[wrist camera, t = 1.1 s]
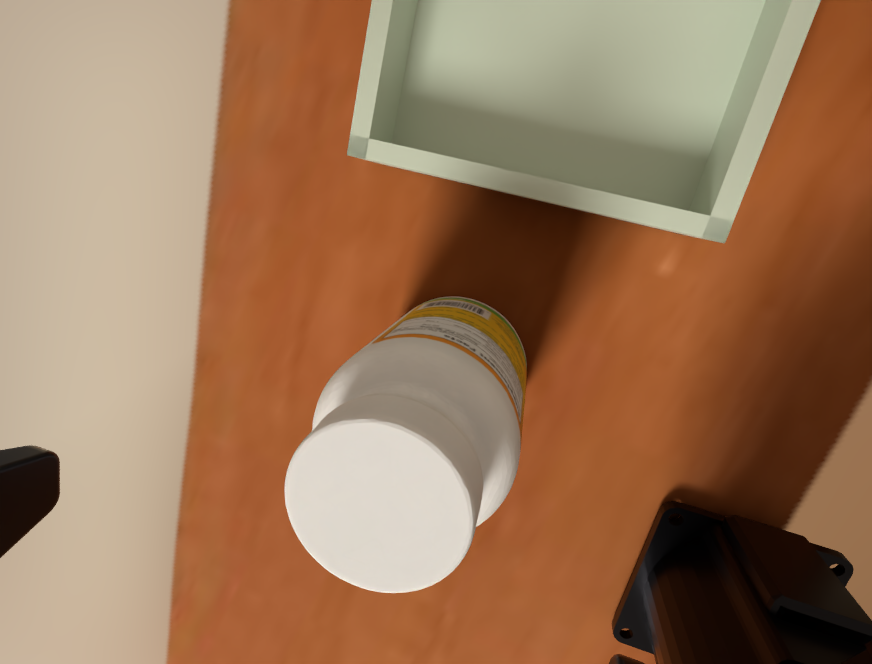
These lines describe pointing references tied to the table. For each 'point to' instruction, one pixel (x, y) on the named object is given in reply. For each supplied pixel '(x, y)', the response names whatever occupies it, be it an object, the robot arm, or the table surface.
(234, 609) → the table surface
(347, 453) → the supplement bottle
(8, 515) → the robot arm
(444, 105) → the tray
